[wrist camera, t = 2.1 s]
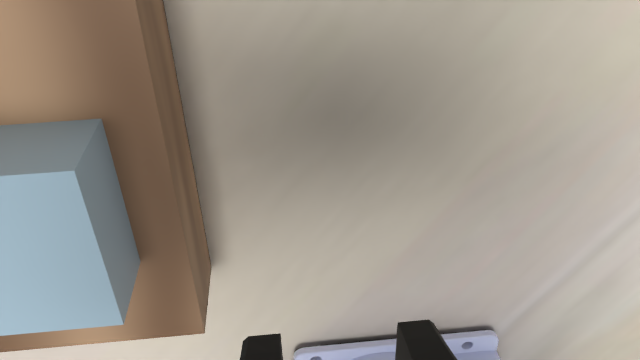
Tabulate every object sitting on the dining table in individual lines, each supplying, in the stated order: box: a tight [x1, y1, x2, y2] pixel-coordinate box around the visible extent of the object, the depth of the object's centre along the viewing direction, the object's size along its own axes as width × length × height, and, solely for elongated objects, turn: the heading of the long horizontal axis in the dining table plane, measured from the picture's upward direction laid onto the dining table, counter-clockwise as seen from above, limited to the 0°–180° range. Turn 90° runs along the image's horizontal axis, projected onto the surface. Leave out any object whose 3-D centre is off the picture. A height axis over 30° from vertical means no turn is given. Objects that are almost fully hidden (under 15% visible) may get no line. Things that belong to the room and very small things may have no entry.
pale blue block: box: [0, 119, 140, 336], centre depth 15 cm, size 5×5×3 cm
